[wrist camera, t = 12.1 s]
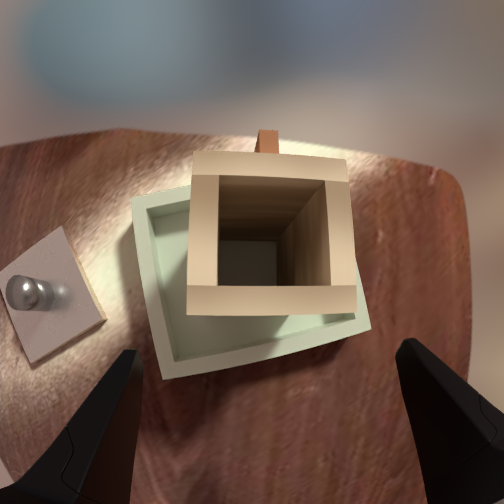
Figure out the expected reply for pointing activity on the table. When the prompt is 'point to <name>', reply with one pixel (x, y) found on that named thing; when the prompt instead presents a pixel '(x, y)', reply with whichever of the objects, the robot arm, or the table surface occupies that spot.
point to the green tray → (230, 274)
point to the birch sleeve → (272, 231)
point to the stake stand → (49, 296)
